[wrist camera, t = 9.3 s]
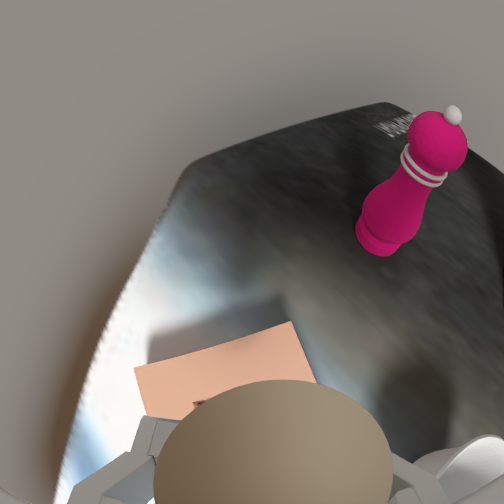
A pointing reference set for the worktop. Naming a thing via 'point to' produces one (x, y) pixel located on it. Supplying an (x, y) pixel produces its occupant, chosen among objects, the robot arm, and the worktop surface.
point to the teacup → (466, 465)
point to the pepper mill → (412, 181)
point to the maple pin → (275, 449)
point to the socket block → (221, 371)
